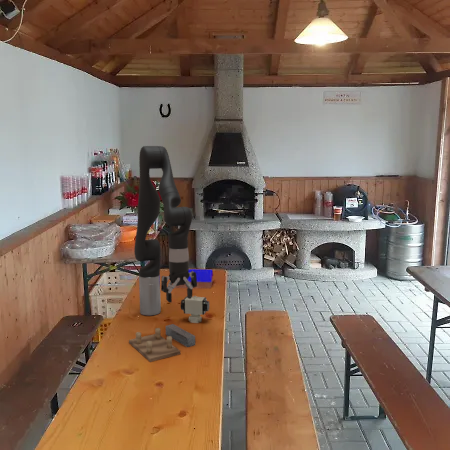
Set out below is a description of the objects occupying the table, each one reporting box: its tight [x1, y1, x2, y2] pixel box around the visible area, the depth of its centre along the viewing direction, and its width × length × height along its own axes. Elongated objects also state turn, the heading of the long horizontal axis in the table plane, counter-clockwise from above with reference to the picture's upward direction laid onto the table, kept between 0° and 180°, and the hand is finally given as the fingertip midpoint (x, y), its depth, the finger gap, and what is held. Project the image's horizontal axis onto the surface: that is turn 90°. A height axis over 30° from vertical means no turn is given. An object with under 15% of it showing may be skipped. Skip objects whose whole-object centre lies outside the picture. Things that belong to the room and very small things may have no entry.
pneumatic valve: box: [180, 295, 210, 324], centre depth 205 cm, size 6×12×12 cm, turn 79°
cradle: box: [128, 327, 181, 363], centre depth 179 cm, size 20×12×5 cm, turn 33°
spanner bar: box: [165, 323, 196, 348], centre depth 187 cm, size 16×4×4 cm, turn 38°
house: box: [174, 268, 214, 289], centre depth 252 cm, size 12×20×12 cm, turn 86°
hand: (179, 300), depth 185 cm, fingers open, 8 cm apart
